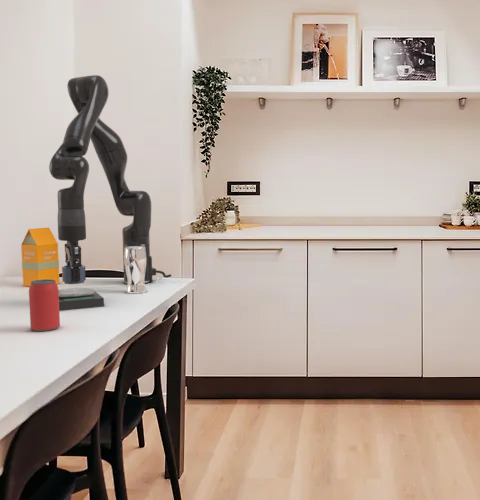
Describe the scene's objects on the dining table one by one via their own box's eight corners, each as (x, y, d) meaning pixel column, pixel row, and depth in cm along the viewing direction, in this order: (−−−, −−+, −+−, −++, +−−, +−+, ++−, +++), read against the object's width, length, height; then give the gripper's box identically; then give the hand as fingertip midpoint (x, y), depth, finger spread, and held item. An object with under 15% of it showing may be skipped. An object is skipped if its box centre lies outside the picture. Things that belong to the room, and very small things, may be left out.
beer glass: (151, 290, 206) (150, 246, 205) (138, 294, 200) (136, 248, 198) (134, 289, 208) (133, 245, 207) (120, 292, 202) (119, 247, 200)
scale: (94, 298, 193) (93, 289, 192) (104, 306, 180) (103, 296, 180) (48, 302, 186) (48, 293, 185) (55, 311, 173) (55, 301, 173)
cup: (83, 280, 187) (82, 264, 187) (87, 283, 182) (86, 266, 182) (61, 282, 184) (60, 265, 184) (64, 285, 179) (63, 268, 178)
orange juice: (22, 285, 214) (19, 228, 212) (44, 282, 222) (41, 227, 220) (39, 287, 211) (36, 229, 209) (60, 283, 219) (57, 227, 217)
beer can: (51, 324, 157) (48, 278, 156) (65, 328, 153) (63, 280, 152) (25, 329, 152) (22, 281, 150) (39, 333, 148) (37, 284, 147)
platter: (91, 289, 191) (91, 286, 191) (98, 294, 182) (97, 292, 182) (52, 292, 185) (52, 289, 185) (57, 298, 176) (57, 295, 176)
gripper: (89, 225, 177) (91, 282, 179) (81, 222, 189) (83, 275, 191) (61, 225, 173) (63, 284, 175) (54, 222, 185) (56, 277, 187)
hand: (73, 279), depth 183 cm, fingers closed on cup, 6 cm apart
